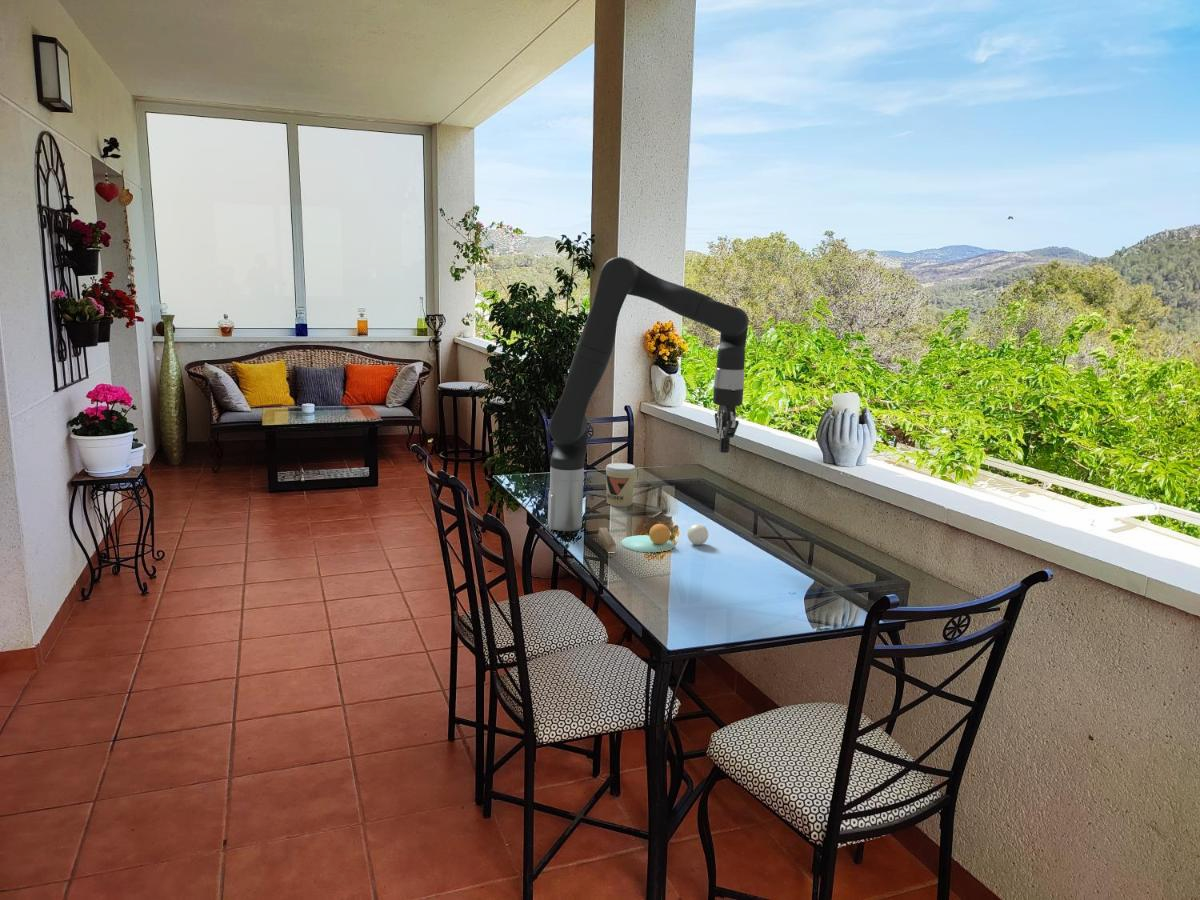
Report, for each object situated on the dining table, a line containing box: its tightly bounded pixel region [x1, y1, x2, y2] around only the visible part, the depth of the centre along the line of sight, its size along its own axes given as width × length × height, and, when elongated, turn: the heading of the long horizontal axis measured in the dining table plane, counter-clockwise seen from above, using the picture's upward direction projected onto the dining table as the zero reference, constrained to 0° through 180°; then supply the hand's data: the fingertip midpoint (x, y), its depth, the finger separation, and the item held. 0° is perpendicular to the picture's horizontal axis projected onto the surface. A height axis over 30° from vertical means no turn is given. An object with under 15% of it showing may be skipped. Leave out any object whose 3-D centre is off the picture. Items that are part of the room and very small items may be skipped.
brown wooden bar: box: [598, 527, 617, 553], centre depth 206 cm, size 2×14×2 cm, turn 10°
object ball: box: [648, 523, 671, 545], centre depth 208 cm, size 6×6×6 cm
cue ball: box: [686, 523, 709, 546], centre depth 209 cm, size 6×6×6 cm
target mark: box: [620, 534, 675, 554], centre depth 208 cm, size 14×14×1 cm
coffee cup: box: [605, 462, 637, 508], centre depth 245 cm, size 9×9×12 cm
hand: (723, 452), depth 206 cm, fingers closed
